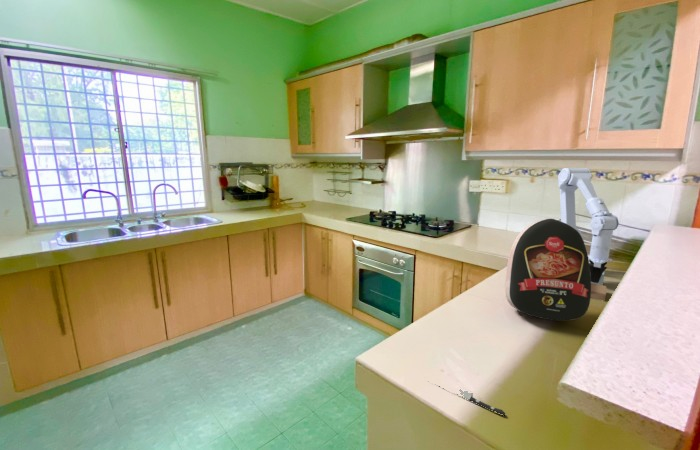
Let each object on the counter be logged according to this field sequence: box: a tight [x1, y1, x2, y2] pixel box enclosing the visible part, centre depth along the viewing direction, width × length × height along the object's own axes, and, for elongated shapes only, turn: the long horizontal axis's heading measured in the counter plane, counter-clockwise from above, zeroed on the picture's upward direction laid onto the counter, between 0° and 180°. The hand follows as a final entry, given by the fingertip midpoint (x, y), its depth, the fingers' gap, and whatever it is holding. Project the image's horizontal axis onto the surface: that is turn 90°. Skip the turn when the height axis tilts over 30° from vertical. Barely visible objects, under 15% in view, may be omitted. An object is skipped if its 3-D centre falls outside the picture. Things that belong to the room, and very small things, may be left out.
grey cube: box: [590, 271, 606, 286], centre depth 123 cm, size 5×5×5 cm
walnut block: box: [590, 283, 607, 302], centre depth 115 cm, size 9×9×3 cm
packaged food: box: [504, 218, 591, 322], centre depth 97 cm, size 22×20×30 cm
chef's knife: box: [459, 389, 506, 415], centre depth 67 cm, size 19×1×3 cm
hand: (594, 280), depth 123 cm, fingers closed on grey cube, 5 cm apart
